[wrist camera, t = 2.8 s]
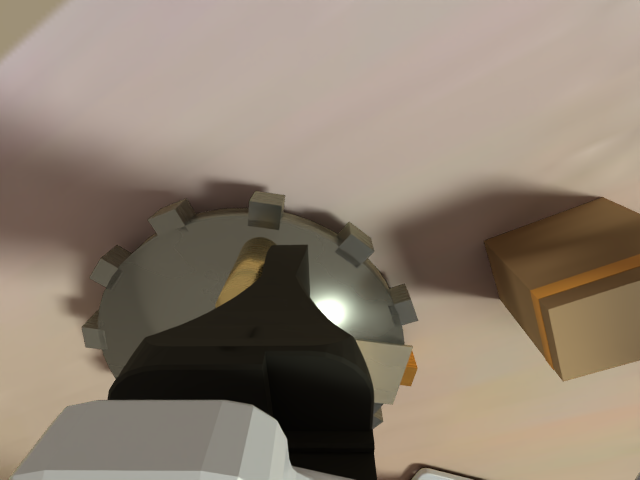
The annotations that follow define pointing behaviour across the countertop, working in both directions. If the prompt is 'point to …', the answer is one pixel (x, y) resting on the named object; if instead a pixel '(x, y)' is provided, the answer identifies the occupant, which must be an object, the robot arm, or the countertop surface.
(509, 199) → the countertop surface
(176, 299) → the sprocket
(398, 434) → the countertop surface
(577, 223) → the link block
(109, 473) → the robot arm
